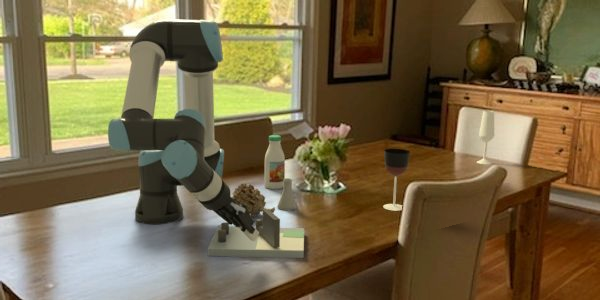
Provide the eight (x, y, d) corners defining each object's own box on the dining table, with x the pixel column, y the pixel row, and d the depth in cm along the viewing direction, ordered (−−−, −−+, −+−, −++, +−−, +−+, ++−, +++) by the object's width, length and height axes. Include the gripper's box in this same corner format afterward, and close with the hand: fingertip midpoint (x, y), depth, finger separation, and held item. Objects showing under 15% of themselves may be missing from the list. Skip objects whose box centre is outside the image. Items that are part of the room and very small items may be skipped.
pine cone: (223, 212, 199) (222, 183, 197) (245, 206, 206) (245, 178, 204) (266, 229, 184) (267, 198, 182) (289, 222, 191) (289, 192, 188)
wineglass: (386, 202, 213) (389, 147, 209) (409, 206, 209) (413, 150, 205) (377, 207, 207) (380, 151, 202) (401, 212, 202) (404, 155, 198)
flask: (295, 211, 201) (296, 183, 199) (274, 209, 203) (275, 181, 201) (299, 205, 208) (300, 177, 206) (279, 203, 210) (280, 176, 208)
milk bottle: (261, 188, 227) (262, 137, 223) (267, 183, 235) (268, 133, 230) (281, 190, 225) (282, 138, 221) (286, 185, 233) (287, 134, 228)
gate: (254, 230, 175) (254, 204, 174) (262, 229, 176) (262, 203, 175) (272, 247, 162) (272, 220, 161) (280, 246, 163) (281, 218, 162)
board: (208, 255, 163) (207, 238, 162) (218, 232, 180) (217, 216, 179) (304, 258, 162) (304, 240, 161) (304, 234, 180) (305, 218, 179)
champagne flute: (475, 163, 274) (480, 111, 269) (477, 160, 280) (481, 109, 275) (490, 165, 271) (495, 112, 266) (492, 161, 277) (497, 110, 272)
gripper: (182, 197, 144) (230, 243, 161) (221, 208, 137) (267, 254, 154) (198, 171, 147) (243, 219, 164) (237, 181, 140) (280, 229, 157)
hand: (255, 236), depth 159 cm, fingers closed
